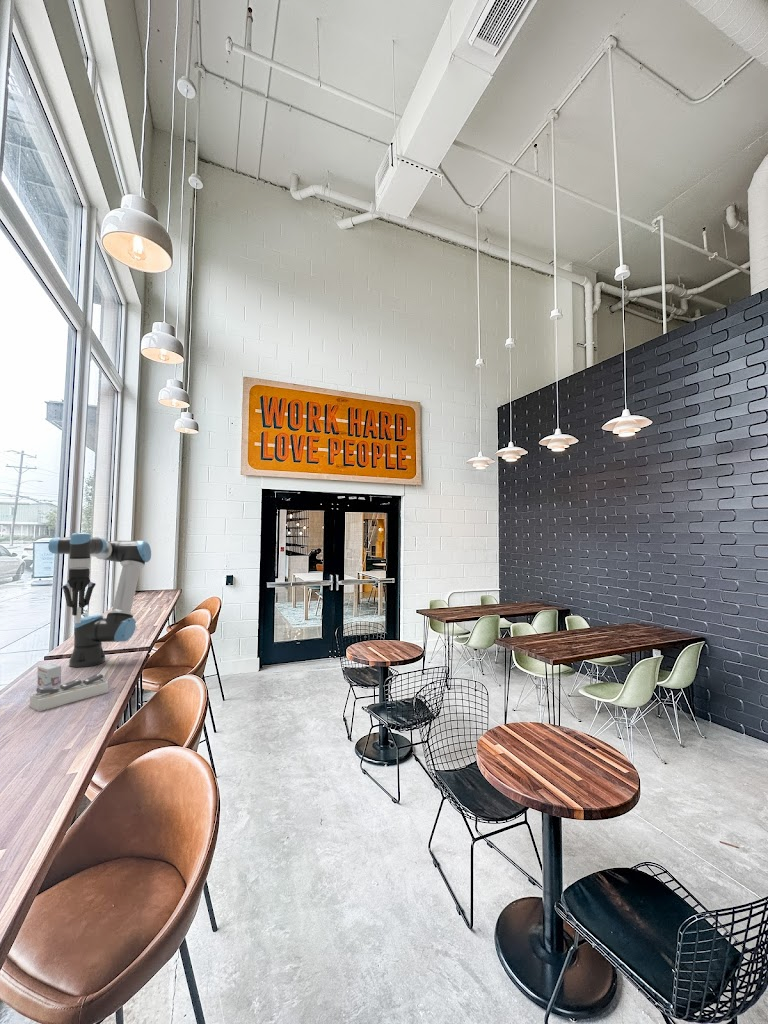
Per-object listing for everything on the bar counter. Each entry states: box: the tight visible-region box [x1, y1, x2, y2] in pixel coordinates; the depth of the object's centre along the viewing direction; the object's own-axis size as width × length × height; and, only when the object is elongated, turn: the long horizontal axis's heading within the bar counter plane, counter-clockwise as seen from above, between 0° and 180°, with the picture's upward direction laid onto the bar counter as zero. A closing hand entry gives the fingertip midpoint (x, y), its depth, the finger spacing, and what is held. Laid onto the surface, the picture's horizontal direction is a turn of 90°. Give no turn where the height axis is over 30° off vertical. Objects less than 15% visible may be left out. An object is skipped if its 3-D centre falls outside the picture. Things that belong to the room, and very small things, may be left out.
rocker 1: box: [35, 687, 59, 693], centre depth 169 cm, size 6×4×1 cm, turn 147°
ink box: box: [36, 662, 62, 694], centre depth 180 cm, size 9×5×12 cm, turn 62°
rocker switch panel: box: [29, 678, 109, 712], centre depth 176 cm, size 24×8×5 cm, turn 147°
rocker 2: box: [60, 678, 83, 690], centre depth 176 cm, size 6×4×1 cm, turn 147°
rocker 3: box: [82, 672, 104, 685], centre depth 183 cm, size 6×4×1 cm, turn 147°
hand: (77, 622), depth 194 cm, fingers closed
